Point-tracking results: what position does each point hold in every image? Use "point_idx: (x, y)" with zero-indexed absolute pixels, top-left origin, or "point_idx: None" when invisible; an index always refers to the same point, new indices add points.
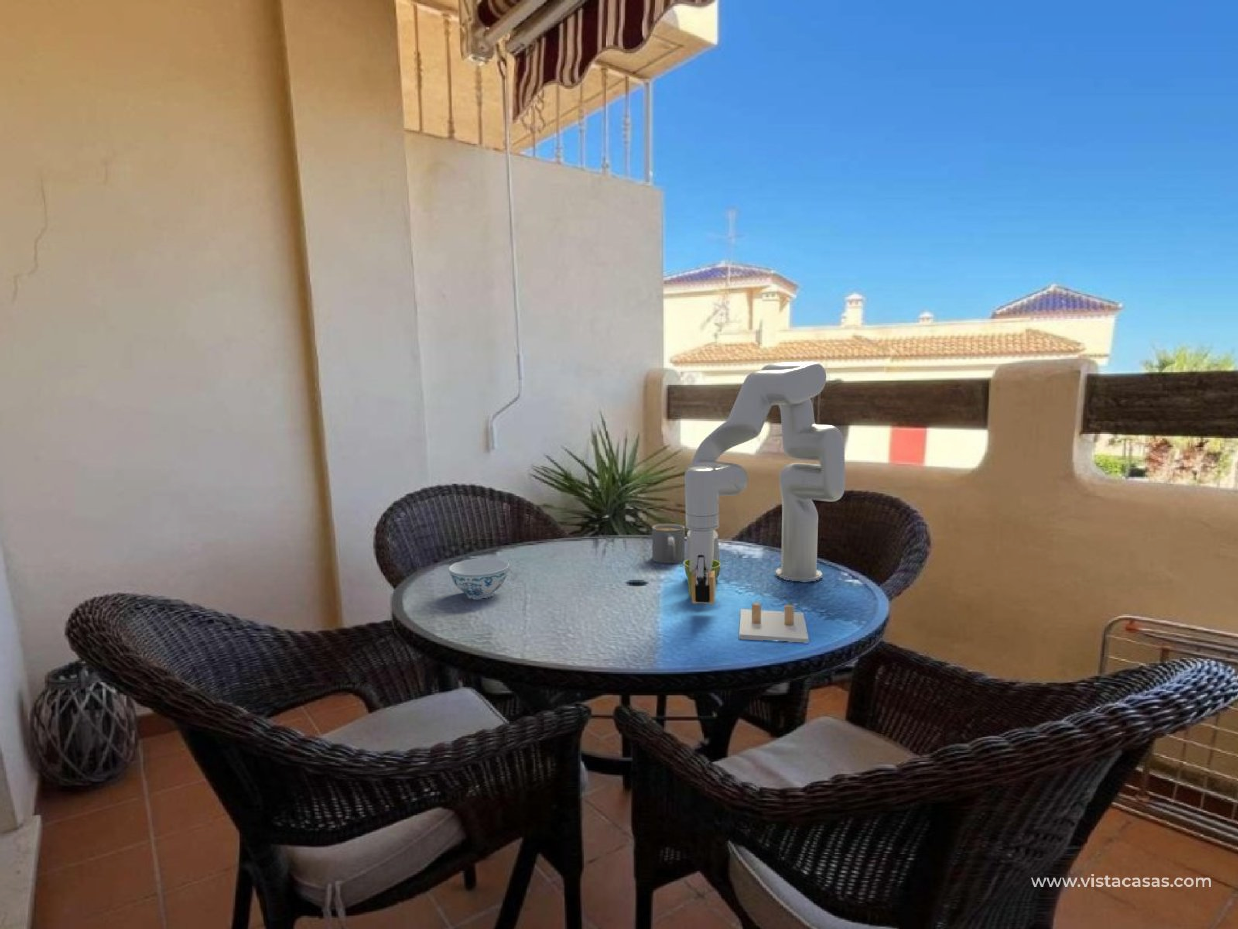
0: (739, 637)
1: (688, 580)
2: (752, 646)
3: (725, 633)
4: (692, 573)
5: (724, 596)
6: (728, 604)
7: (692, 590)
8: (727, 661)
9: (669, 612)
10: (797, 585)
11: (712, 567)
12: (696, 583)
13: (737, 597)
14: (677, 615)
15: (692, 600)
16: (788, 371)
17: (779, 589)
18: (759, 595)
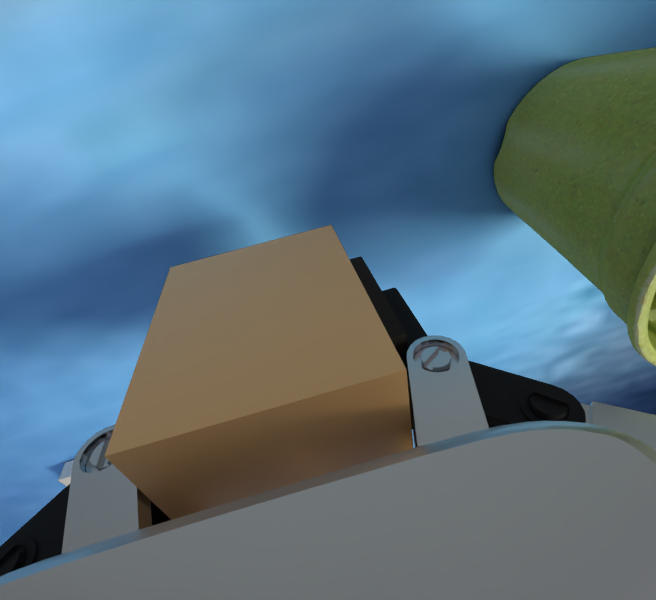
0: (63, 468)
1: (647, 72)
2: (35, 504)
3: (83, 414)
4: (254, 414)
5: (551, 252)
6: (444, 303)
7: (153, 334)
8: None
9: (186, 26)
10: (643, 397)
11: (652, 352)
12: (77, 466)
13: (537, 302)
14: (161, 119)
15: (168, 281)
16: None
17: (614, 376)
18: (558, 353)
